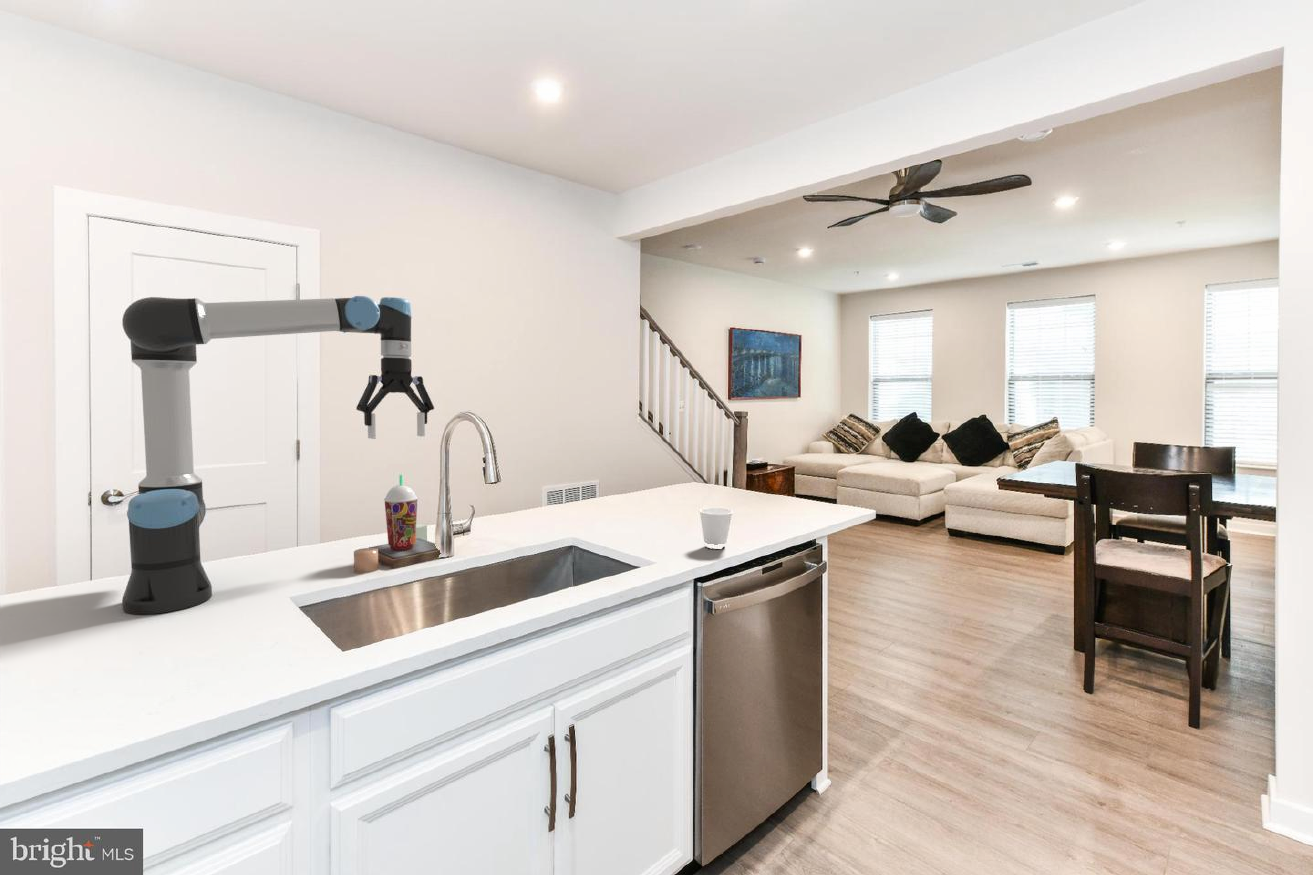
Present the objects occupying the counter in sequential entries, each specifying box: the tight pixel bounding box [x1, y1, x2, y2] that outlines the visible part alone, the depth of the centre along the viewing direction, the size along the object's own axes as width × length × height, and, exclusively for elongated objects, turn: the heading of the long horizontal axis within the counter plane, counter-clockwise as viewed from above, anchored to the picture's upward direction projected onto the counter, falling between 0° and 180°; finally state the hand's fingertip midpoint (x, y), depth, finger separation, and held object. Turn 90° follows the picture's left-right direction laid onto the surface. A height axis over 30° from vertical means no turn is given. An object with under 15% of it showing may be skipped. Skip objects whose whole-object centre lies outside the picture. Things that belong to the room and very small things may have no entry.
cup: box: [698, 507, 734, 545], centre depth 186 cm, size 10×10×11 cm
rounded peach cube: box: [353, 547, 379, 574], centre depth 159 cm, size 6×6×5 cm
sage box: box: [416, 523, 428, 541], centre depth 187 cm, size 5×5×5 cm
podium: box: [368, 538, 441, 570], centre depth 172 cm, size 16×16×3 cm
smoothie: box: [383, 474, 419, 551], centre depth 170 cm, size 8×8×20 cm
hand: (397, 437), depth 169 cm, fingers open, 13 cm apart
